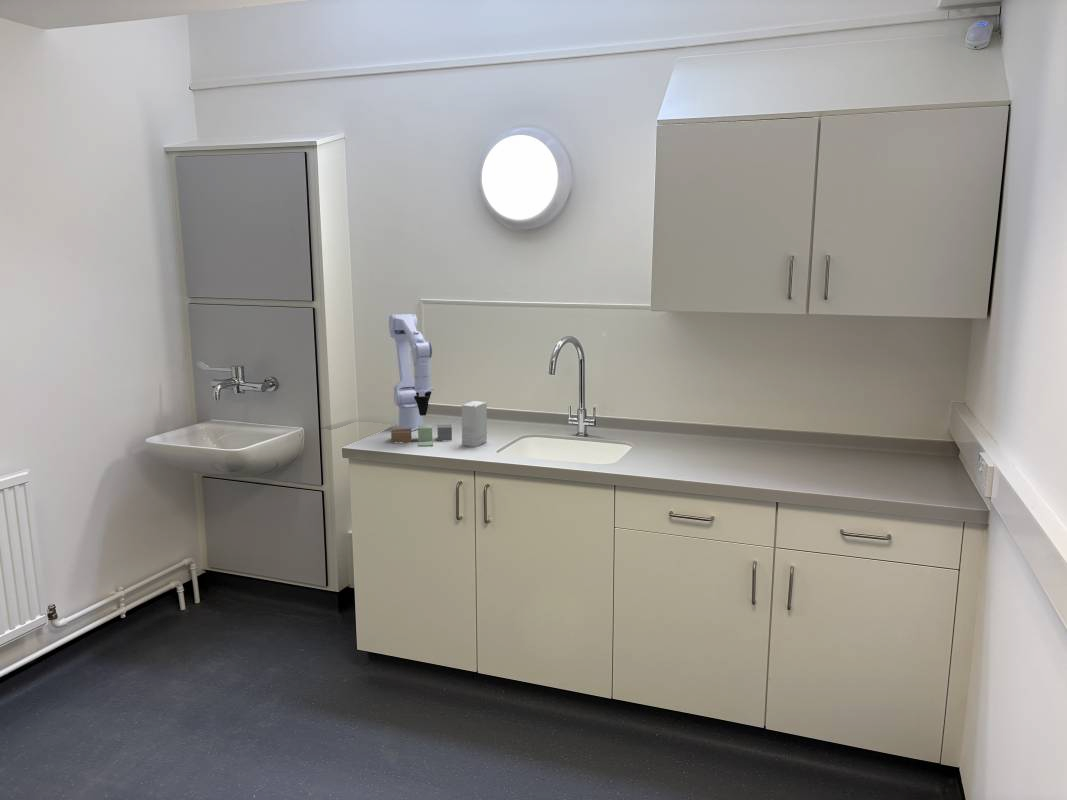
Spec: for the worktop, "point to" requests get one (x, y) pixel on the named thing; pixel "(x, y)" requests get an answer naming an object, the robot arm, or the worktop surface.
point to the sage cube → (424, 432)
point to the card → (426, 443)
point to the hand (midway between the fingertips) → (423, 413)
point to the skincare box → (474, 423)
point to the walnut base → (401, 435)
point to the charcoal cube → (444, 432)
